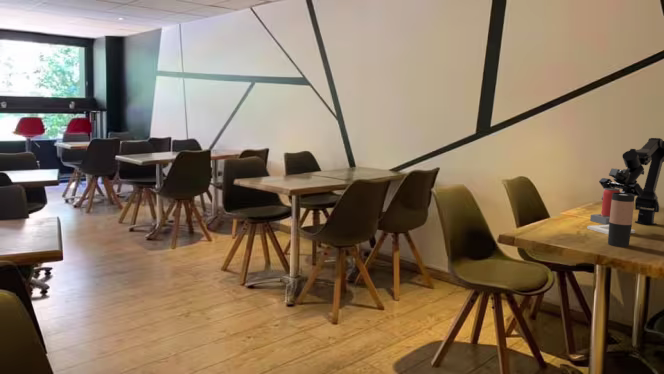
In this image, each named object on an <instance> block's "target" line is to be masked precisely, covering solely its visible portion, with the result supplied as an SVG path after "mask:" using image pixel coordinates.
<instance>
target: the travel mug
mask: <svg viewBox="0 0 664 374" xmlns="http://www.w3.org/2000/svg"><path fill="white" fill-rule="evenodd" d="M635 199H636V196H635V195H634V194H630V193H621V192H620V193H619V192H616V193H612V202H611V211H610V220H609V234H607V244H608V245H610V246H613V247H617V248H618V247H619V248H628V247H629V245H630V240H631V234H632V233H631V229H632V226H633V218H634V207H635V205H634V204H635Z"/></svg>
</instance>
